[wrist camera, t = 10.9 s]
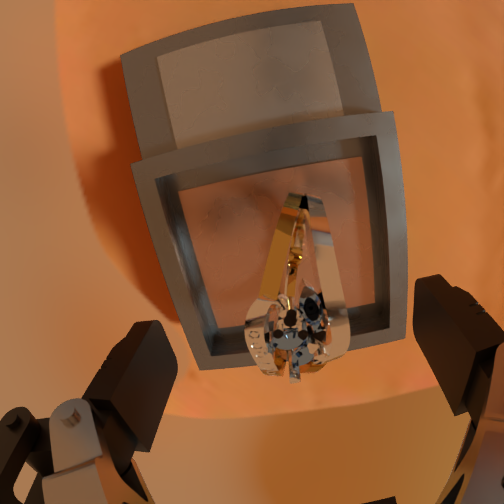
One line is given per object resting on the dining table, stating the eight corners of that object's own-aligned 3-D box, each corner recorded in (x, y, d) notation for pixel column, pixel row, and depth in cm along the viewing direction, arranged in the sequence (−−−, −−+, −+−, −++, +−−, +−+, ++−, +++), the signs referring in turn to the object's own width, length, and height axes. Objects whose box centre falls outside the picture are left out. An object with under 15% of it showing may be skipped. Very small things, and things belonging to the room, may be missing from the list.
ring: (270, 174, 14) (259, 220, 7) (337, 186, 14) (393, 243, 7) (250, 304, 17) (229, 420, 10) (308, 312, 17) (320, 430, 9)
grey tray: (142, 64, 15) (106, 49, 11) (341, 21, 14) (360, -8, 10) (212, 327, 22) (199, 370, 17) (383, 299, 20) (405, 338, 16)
